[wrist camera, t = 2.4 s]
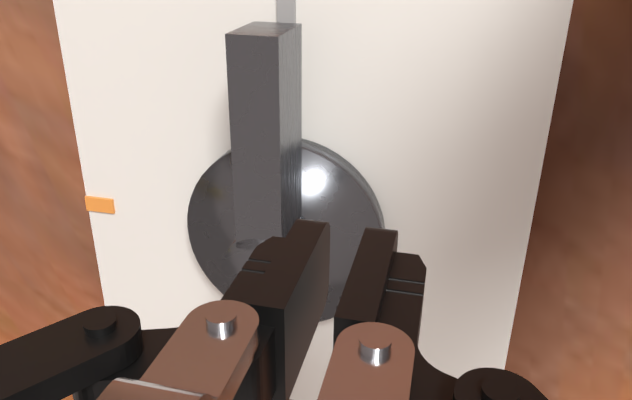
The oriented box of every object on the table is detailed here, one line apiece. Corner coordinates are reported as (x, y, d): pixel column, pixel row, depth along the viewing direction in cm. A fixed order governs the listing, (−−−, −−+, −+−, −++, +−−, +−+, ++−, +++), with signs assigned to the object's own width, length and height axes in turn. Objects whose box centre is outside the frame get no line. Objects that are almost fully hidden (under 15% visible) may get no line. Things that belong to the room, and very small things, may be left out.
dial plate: (569, -6, 29) (574, -2, 27) (491, 420, 41) (491, 438, 39) (65, -23, 35) (47, -21, 33) (125, 354, 47) (114, 368, 45)
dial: (379, 322, 38) (365, 381, 33) (204, 296, 40) (167, 347, 35) (400, 23, 30) (386, 42, 25) (180, 13, 32) (128, 28, 27)
